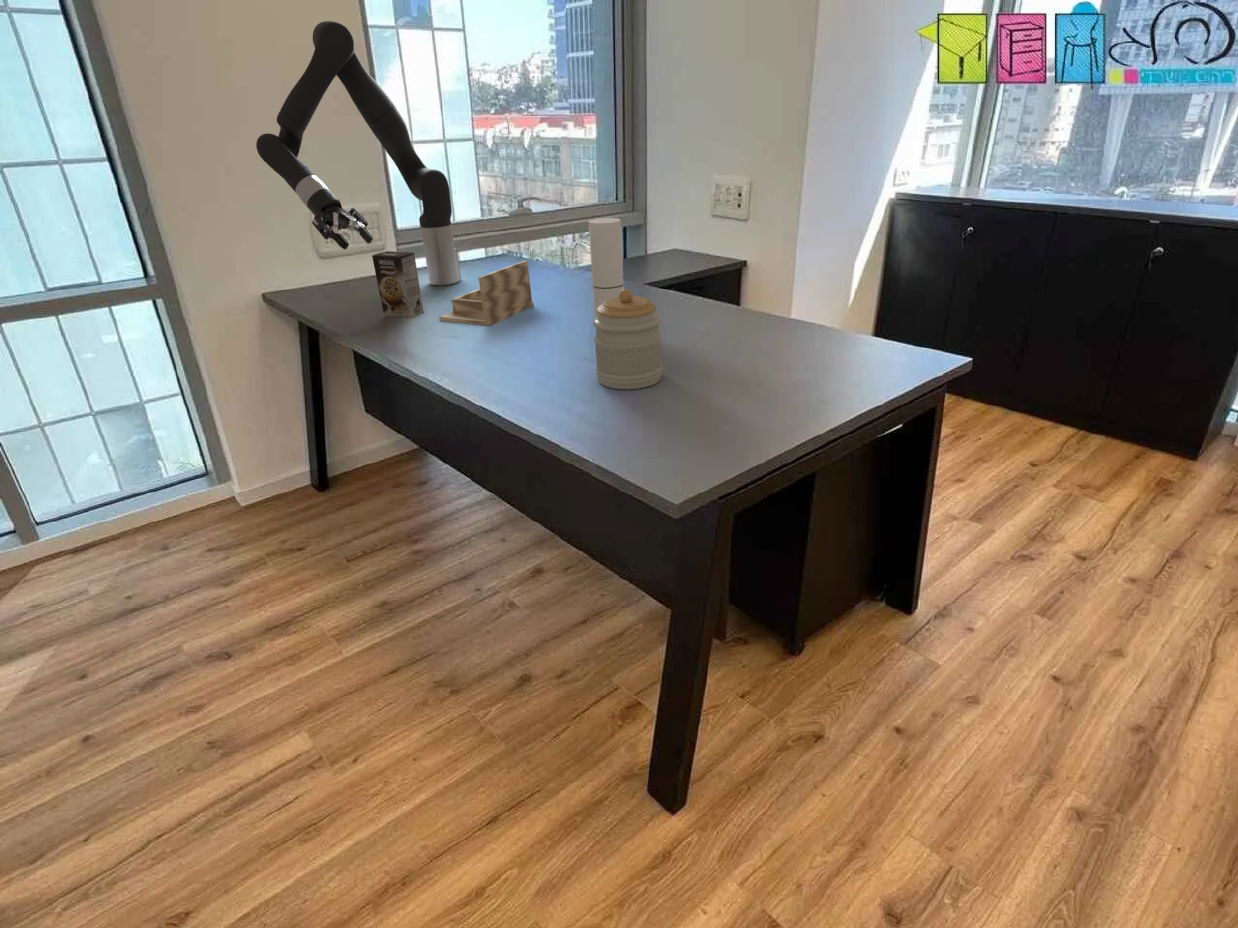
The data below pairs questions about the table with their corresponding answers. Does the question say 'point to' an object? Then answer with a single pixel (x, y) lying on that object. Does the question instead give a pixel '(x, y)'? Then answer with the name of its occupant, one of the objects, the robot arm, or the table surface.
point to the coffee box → (398, 284)
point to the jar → (628, 342)
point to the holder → (494, 297)
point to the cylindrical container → (606, 259)
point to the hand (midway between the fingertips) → (359, 244)
